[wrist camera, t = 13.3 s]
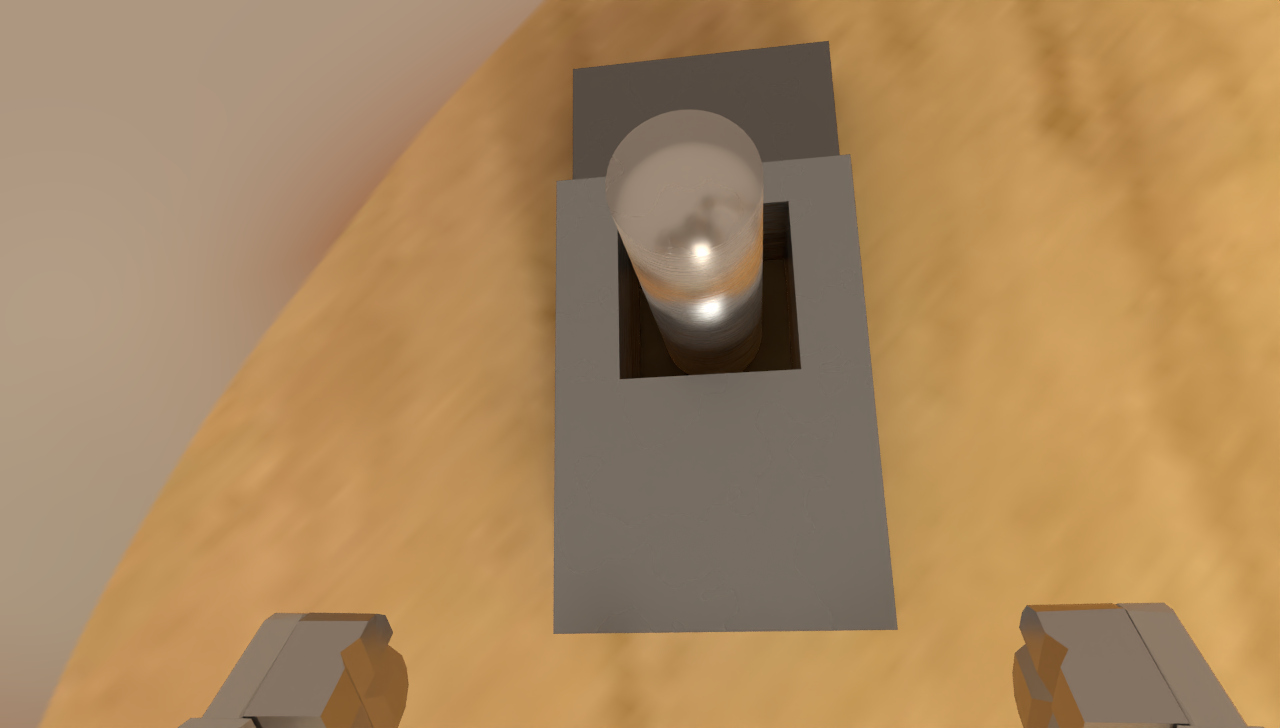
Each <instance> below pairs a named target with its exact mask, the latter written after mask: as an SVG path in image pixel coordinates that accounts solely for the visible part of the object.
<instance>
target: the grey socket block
mask: <svg viewBox="0 0 1280 728" xmlns="http://www.w3.org/2000/svg"><path fill="white" fill-rule="evenodd" d="M689 109H692V110H702V111H707V112H712V113H715V114H718V115H721V116H723V117H725V118H727V119H729V120H730V121H732V122H733V123H735V124H737V125H738V126H739V127H740V128H741V129H742V130H744V131H745V133H746V134H747V135H748V136H749V137H750V138H751V140H752V141H753V143H754V144H755V146H756V148H757V150H758V152H759V155H760V158H761V161H762V166H763V260H772V259H784V263H785V277H786V291H787V305H788V318H789V332H790V346H791V359H792V370H778V371H760V372H742V373H724V374H706V375H688V376H670V377H652V378H641V346H640V301H639V280H638V277H637V275H636V272H635V270H634V268H633V265H632V263H631V260H630V258H629V255H628V253H627V251H626V248H625V246H624V243H623V241H622V239H621V236H620V234H619V231H618V229H617V226H616V224H615V222H614V219H613V217H612V214H611V212H610V209H609V207H608V203H607V199H606V192H605V181H606V174H607V169H608V166H609V163H610V160H611V158H612V156H613V154H614V152H615V150H616V149H617V147H618V146H619V144H620V143H621V141H622V140H623V139H624V138H625V137H626V136H627V135H628V134H629V133H630V132H631V131H632V130H633V129H634V128H636V127H637V126H639V125H640V124H642V123H643V122H645V121H647V120H649V119H650V118H652V117H655V116H657V115H660V114H663V113H667V112H670V111H676V110H689ZM832 630H898V628H897V618H896V608H895V598H894V588H893V578H892V568H891V558H890V548H889V538H888V528H887V518H886V508H885V498H884V488H883V478H882V468H881V458H880V448H879V438H878V428H877V418H876V408H875V398H874V388H873V378H872V367H871V357H870V347H869V337H868V327H867V317H866V307H865V297H864V287H863V277H862V267H861V257H860V247H859V237H858V227H857V217H856V207H855V197H854V187H853V177H852V167H851V157H850V155H839V145H838V134H837V124H836V113H835V103H834V93H833V82H832V72H831V61H830V51H829V41H824V42H815V43H806V44H797V45H788V46H779V47H770V48H761V49H752V50H743V51H734V52H725V53H716V54H706V55H697V56H688V57H679V58H670V59H661V60H652V61H643V62H634V63H625V64H616V65H607V66H598V67H589V68H579V69H573V180H564V181H557V217H556V356H555V495H554V634H576V633H661V632H746V631H832Z"/></svg>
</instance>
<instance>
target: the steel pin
mask: <svg viewBox="0 0 1280 728" xmlns="http://www.w3.org/2000/svg"><path fill="white" fill-rule="evenodd" d="M605 192H606V199H607V203H608V207H609V209H610V212H611V214H612V217H613V219H614V222H615V224H616V226H617V229H618V231H619V234H620V236H621V239H622V241H623V243H624V246H625V248H626V251H627V253H628V255H629V258H630V260H631V263H632V265H633V268H634V270H635V272H636V275H637V277H638V280H639V282H640V285H641V287H642V289H643V292H644V294H645V297H646V299H647V301H648V304H649V306H650V309H651V311H652V314H653V316H654V318H655V321H656V323H657V326H658V328H659V331H660V333H661V335H662V338H663V340H664V343H665V345H666V347H667V350H668V352H669V355H670V356H671V358H672V360H673V361H674V362H675V364H676V365H677V366H678V367H679V368H680V369H681V370H683V371H684V372H685V373H687V374H689V375H706V374H724V373H740V372H741V371H743V370H744V369H745V368H746V367H747V366H748V365H750V363H751V362H752V361H753V360H754V358H755V356H756V355H757V353H758V350H759V348H760V345H761V340H762V276H763V166H762V161H761V158H760V155H759V152H758V150H757V148H756V146H755V144H754V143H753V141H752V140H751V138H750V137H749V136H748V135H747V134H746V133H745V131H744V130H742V129H741V128H740V127H739V126H738V125H737V124H735V123H733V122H732V121H730V120H729V119H727V118H725V117H723V116H721V115H718V114H715V113H712V112H707V111H702V110H692V109H689V110H676V111H670V112H667V113H663V114H660V115H657V116H655V117H652V118H650V119H649V120H647V121H645V122H643V123H642V124H640V125H639V126H637V127H636V128H634V129H633V130H632V131H631V132H630V133H629V134H628V135H627V136H626V137H625V138H624V139H623V140H622V141H621V143H620V144H619V146H618V147H617V149H616V150H615V152H614V154H613V156H612V158H611V160H610V163H609V166H608V169H607V174H606V181H605Z"/></svg>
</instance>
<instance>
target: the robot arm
mask: <svg viewBox="0 0 1280 728" xmlns="http://www.w3.org/2000/svg"><path fill="white" fill-rule="evenodd" d="M1019 628H1020V630H1021V633H1022V635H1023V638H1024V641H1025V643H1026V644H1025V645H1024V646H1023V647H1021V648H1020V649H1019V650H1018V651H1017V652H1015V656H1014V664H1013V672H1012V673H1013V685H1014V696H1015V700H1016V704H1017V709H1018V713H1019V716H1020V719H1021V722H1022V725H1023V728H1264V727H1257V726H1247V724H1246V723H1245V721H1244V720H1243V718H1242V716H1241V715H1240V713H1239V712H1238V710H1237V709H1236V707H1235V706H1234V704H1233V702H1232V701H1231V699H1230V698H1229V696H1228V695H1227V693H1226V692H1225V690H1224V688H1223V687H1222V685H1221V684H1220V682H1219V681H1218V679H1217V677H1216V676H1215V674H1214V673H1213V671H1212V670H1211V668H1210V667H1209V665H1208V663H1207V662H1206V660H1205V659H1204V657H1203V656H1202V654H1201V653H1200V651H1199V649H1198V648H1197V646H1196V645H1195V643H1194V642H1193V640H1192V639H1191V637H1190V635H1189V634H1188V632H1187V631H1186V629H1185V628H1184V626H1183V624H1182V623H1181V621H1180V620H1179V618H1178V617H1177V615H1176V614H1175V612H1174V610H1173V609H1171V608H1170V607H1169V606H1167V605H1166V604H1165V603H1120V604H1112V603H1101V604H1057V605H1027V606H1026V607H1025V609H1024V610H1023V612H1022V616H1021V621H1020V626H1019ZM392 634H393V631H392V629H391V627H390V624H389V622H388V620H387V618H386V616H385V615H380V614H355V613H275V614H273V615H272V616H271V617H269V618H268V619H266V620H265V621H264V622H263V624H262V625H261V627H260V628H259V630H258V631H257V633H256V634H255V636H254V637H253V639H252V641H251V642H250V644H249V645H248V647H247V648H246V650H245V651H244V653H243V655H242V656H241V658H240V659H239V661H238V662H237V664H236V665H235V667H234V668H233V670H232V672H231V673H230V675H229V676H228V678H227V679H226V681H225V682H224V684H223V686H222V687H221V689H220V690H219V692H218V693H217V695H216V696H215V698H214V699H213V701H212V703H211V704H210V706H209V707H208V709H207V710H206V712H205V713H204V715H203V717H202V718H190V719H189V720H188V721H186V722H185V723H183V724H182V725H181V726H179V727H178V728H398V726H399V723H400V721H401V718H402V715H403V713H404V710H405V707H406V700H407V692H408V685H409V684H408V675H407V667H406V665H405V662H404V659H403V657H402V655H401V654H400V653H398V652H397V651H396V650H394V649H393V648H392V647H390V646H389V645H388V643H389V641H390V638H391V636H392Z"/></svg>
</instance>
